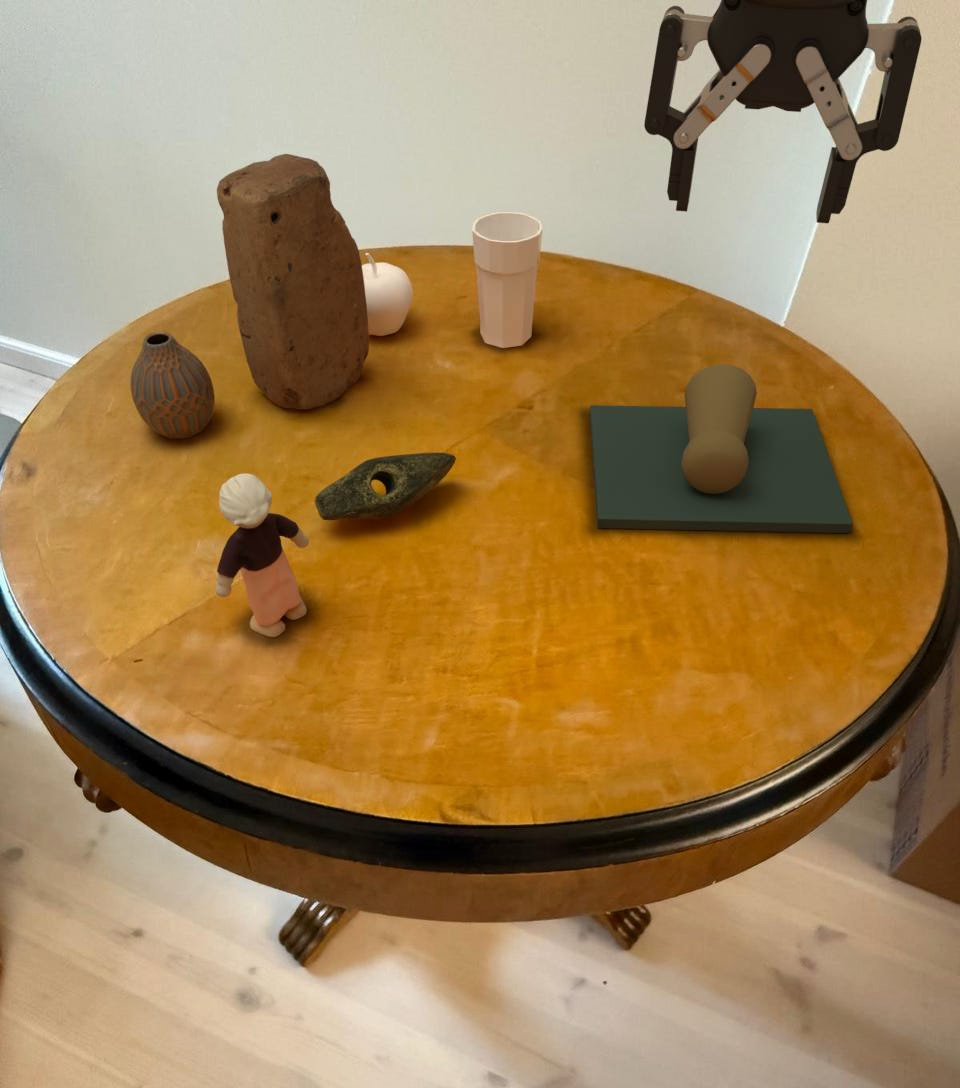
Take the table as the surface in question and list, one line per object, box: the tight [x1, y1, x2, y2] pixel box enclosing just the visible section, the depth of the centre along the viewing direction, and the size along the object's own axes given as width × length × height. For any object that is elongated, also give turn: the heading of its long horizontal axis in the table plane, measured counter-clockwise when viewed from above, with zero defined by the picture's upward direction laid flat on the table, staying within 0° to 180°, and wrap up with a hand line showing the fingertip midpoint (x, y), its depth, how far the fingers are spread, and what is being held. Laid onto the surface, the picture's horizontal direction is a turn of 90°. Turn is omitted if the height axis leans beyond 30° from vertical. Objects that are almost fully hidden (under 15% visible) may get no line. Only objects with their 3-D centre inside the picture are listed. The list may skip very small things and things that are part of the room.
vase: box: [130, 331, 216, 440], centre depth 81 cm, size 7×7×9 cm
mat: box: [589, 404, 853, 534], centre depth 79 cm, size 20×16×1 cm
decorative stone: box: [314, 452, 457, 521], centre depth 74 cm, size 11×8×5 cm
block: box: [216, 153, 370, 410], centre depth 81 cm, size 11×8×20 cm
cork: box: [681, 363, 758, 494], centre depth 77 cm, size 6×6×11 cm
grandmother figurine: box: [214, 473, 310, 638], centre depth 63 cm, size 8×4×13 cm, turn 150°
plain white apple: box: [362, 252, 414, 337], centre depth 93 cm, size 7×7×8 cm
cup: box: [471, 211, 543, 349], centre depth 91 cm, size 7×7×11 cm
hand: (751, 212), depth 58 cm, fingers open, 8 cm apart
